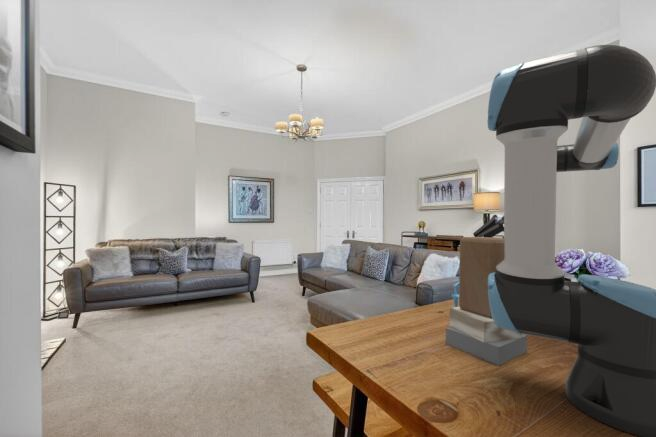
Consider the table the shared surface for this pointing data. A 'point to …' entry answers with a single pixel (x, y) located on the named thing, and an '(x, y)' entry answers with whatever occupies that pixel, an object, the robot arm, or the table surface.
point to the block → (478, 271)
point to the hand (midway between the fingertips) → (500, 258)
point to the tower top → (479, 326)
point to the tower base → (487, 346)
